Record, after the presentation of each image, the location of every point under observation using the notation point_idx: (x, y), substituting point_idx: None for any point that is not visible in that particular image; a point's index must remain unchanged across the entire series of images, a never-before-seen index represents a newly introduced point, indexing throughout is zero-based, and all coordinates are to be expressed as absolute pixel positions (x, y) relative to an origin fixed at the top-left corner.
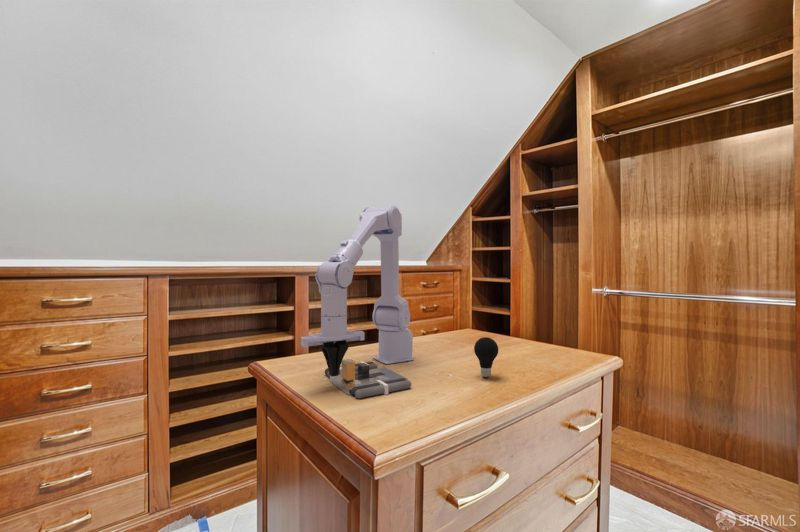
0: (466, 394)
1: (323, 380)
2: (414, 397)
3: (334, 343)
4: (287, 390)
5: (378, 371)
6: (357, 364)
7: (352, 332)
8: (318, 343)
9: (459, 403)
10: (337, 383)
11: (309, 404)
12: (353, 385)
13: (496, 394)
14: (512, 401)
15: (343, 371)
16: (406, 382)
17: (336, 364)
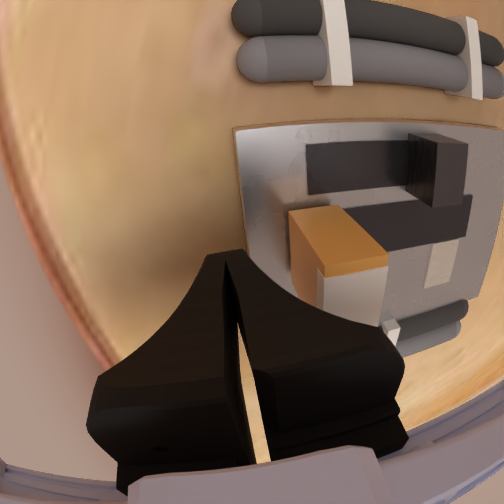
0: (478, 364)
1: (199, 97)
2: (407, 373)
3: (277, 454)
4: (16, 206)
5: (474, 174)
6: (446, 38)
7: (495, 471)
8: (97, 501)
9: (436, 398)
10: (247, 242)
11: (112, 362)
12: None
13: (498, 366)
14: (483, 389)
15: (300, 260)
16: (445, 341)
17: (247, 352)
